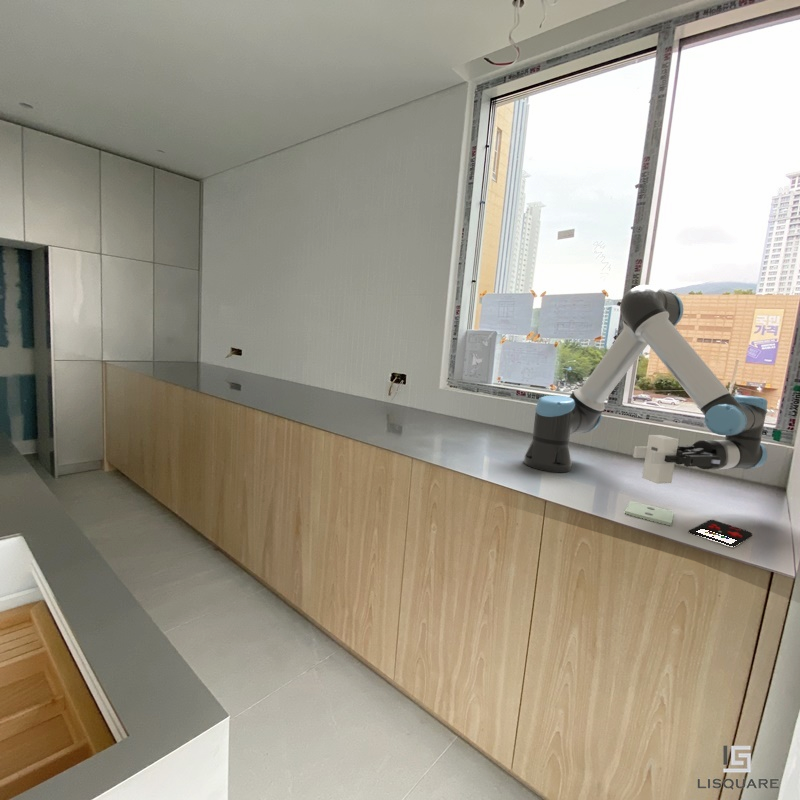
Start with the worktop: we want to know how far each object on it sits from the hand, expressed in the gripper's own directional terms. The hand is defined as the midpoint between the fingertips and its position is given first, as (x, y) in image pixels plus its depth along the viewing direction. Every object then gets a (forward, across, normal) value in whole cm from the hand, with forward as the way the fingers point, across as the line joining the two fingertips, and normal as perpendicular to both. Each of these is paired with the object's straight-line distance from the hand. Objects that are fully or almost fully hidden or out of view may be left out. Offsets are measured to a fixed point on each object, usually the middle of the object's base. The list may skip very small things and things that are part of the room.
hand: (643, 454), depth 109 cm
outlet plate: (-5, 0, -15) cm, 16 cm away
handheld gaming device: (-14, -12, -16) cm, 24 cm away
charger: (-5, 0, -6) cm, 8 cm away
